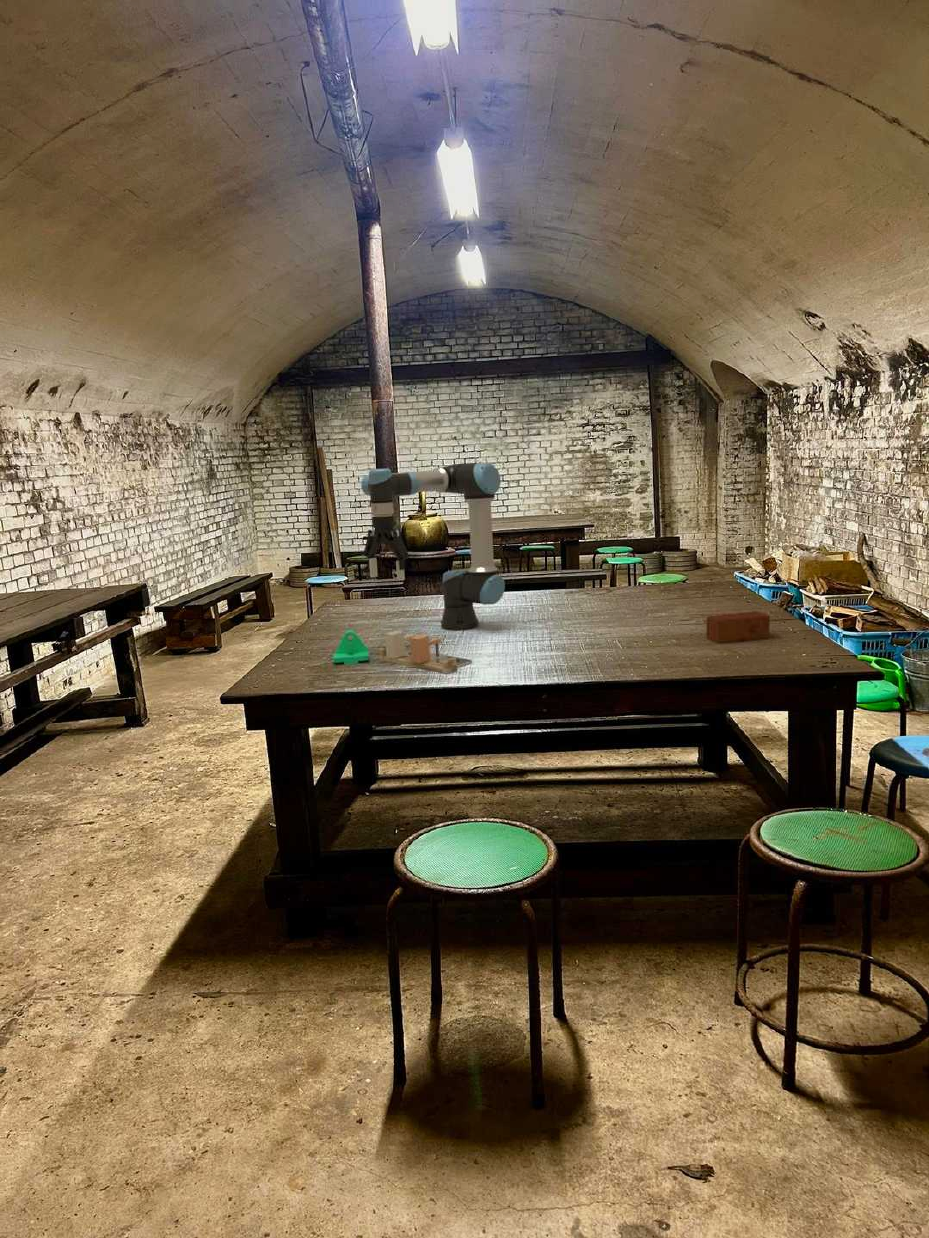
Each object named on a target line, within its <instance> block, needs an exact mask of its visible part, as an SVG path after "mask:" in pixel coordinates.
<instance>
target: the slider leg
mask: <svg viewBox="0 0 929 1238" xmlns="http://www.w3.org/2000/svg"><path fill="white" fill-rule="evenodd" d="M441 639H442V638H438V637H436V638H433V639H430V636H429V635H424V634H419V635H416V636H414V637H410V640H409V648H410V650H409V651H410V653H411V662H414V663H419V664H420V663H423V662H426V661H429V660H430V653H431V650H430V649H431V648H430V646H433V645H434V646H435V654H436V657H439V654H440V652H439V651H440V650H439V649H440V648H439V644H441V643H442V640H441Z"/></svg>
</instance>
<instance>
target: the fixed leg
mask: <svg viewBox="0 0 929 1238" xmlns="http://www.w3.org/2000/svg"><path fill="white" fill-rule="evenodd" d="M414 636H417V635H416V634H414V633H411V634H408V635H405V632H404V631H399V630H394V631H389V632H385V633H384V638H385V639H384V640H385V648H386V656H387V657H389V658H394V659H395V658H398V657H402V656H405V652H406V647H405V642H407V641H410V637H414Z"/></svg>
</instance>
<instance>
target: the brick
mask: <svg viewBox="0 0 929 1238" xmlns="http://www.w3.org/2000/svg"><path fill="white" fill-rule="evenodd" d="M770 618H771V616H770V615H769V614H765V613H763V612H759V611H756V610H755V611H754V610H753V611H750V612H746V611H745V612H737V613H729V614H728V613H724V614H717V615H710V616H706V638H707V640H709V641H712V642H714V643H717V644H725V643H733V642H734V643H735V642H745V641H754V640H763V639H764V640H765V639H769V638H770V626H771V625H770V623H771V622H770V620H771V619H770Z"/></svg>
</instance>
